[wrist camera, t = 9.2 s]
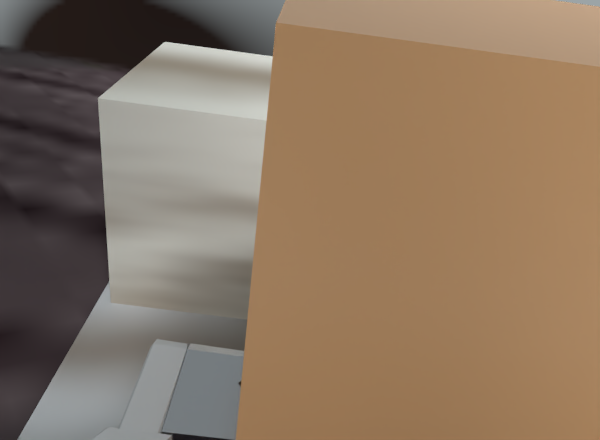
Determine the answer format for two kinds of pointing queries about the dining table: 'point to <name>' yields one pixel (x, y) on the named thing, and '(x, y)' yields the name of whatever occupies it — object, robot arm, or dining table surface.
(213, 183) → the block
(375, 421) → the tan rectangular block
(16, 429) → the dining table surface
